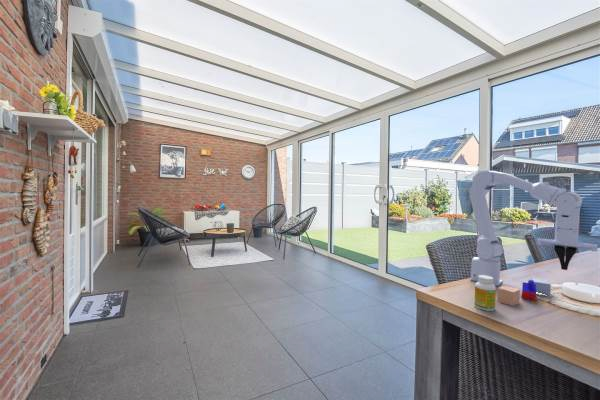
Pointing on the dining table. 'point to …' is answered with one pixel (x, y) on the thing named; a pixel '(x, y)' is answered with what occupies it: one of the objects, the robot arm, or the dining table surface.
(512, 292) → the terracotta block
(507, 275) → the dining table surface
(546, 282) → the slate blue block
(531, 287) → the toy building block
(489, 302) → the supplement bottle
